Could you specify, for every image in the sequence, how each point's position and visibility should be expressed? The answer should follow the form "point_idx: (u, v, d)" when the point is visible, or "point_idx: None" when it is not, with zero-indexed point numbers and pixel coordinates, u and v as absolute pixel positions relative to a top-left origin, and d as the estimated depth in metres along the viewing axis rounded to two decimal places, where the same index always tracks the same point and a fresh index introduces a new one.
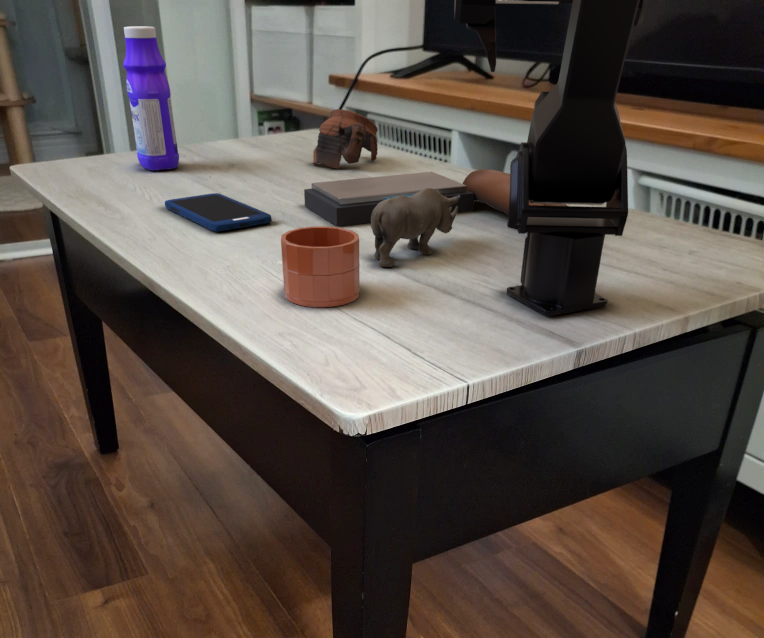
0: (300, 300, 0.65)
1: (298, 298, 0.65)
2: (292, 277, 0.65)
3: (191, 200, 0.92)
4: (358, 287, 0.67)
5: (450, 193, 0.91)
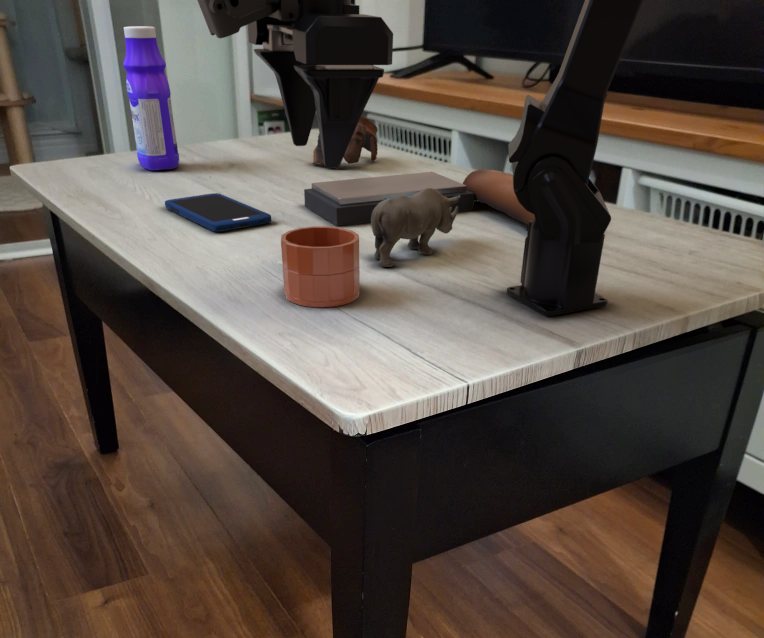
0: (300, 300, 0.65)
1: (298, 298, 0.65)
2: (292, 277, 0.65)
3: (191, 200, 0.92)
4: (358, 287, 0.67)
5: (450, 193, 0.91)
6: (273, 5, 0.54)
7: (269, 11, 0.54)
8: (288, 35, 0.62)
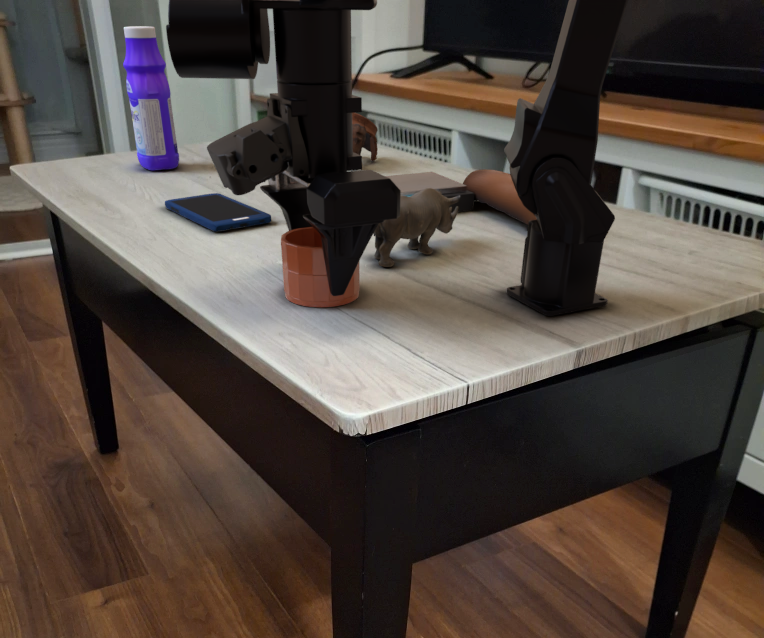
0: (300, 300, 0.65)
1: (298, 298, 0.65)
2: (292, 277, 0.65)
3: (191, 200, 0.92)
4: (358, 287, 0.67)
5: (450, 193, 0.91)
6: (285, 163, 0.58)
7: (281, 169, 0.58)
8: None
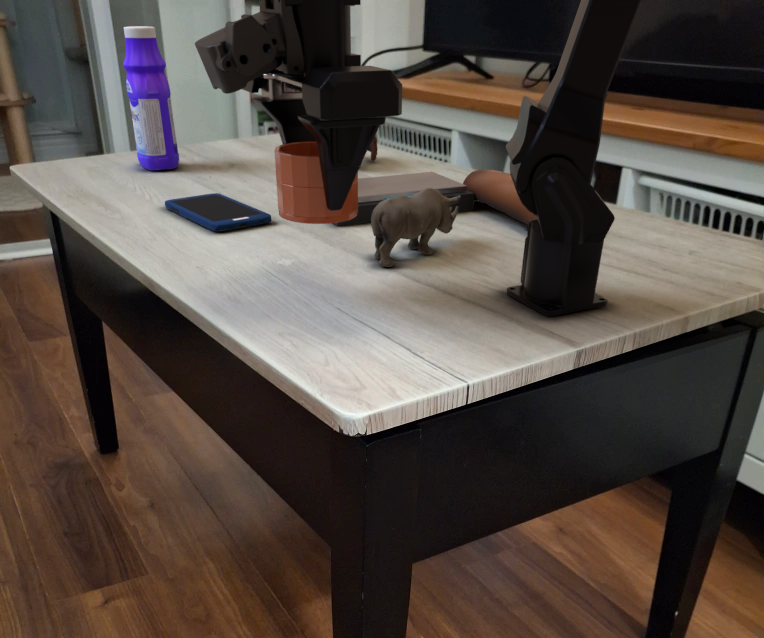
0: (295, 216, 0.61)
1: (293, 214, 0.61)
2: (286, 191, 0.61)
3: (191, 200, 0.92)
4: (357, 205, 0.63)
5: (450, 193, 0.91)
6: (278, 59, 0.55)
7: (275, 65, 0.54)
8: (289, 84, 0.62)
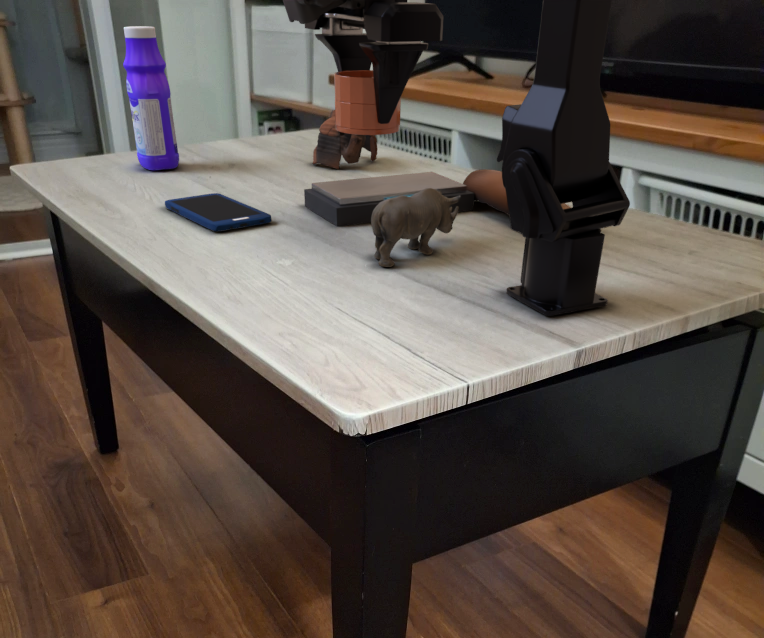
0: (350, 129, 0.76)
1: (349, 127, 0.76)
2: (344, 107, 0.75)
3: (191, 200, 0.92)
4: (399, 121, 0.78)
5: (450, 193, 0.91)
6: None
7: (341, 1, 0.69)
8: (345, 22, 0.76)
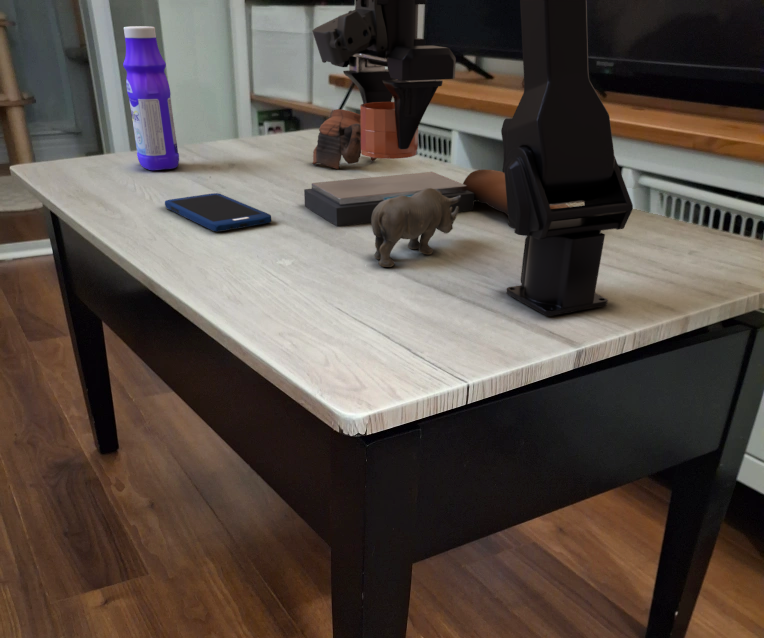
0: (374, 153, 0.87)
1: (373, 152, 0.87)
2: (369, 135, 0.86)
3: (191, 200, 0.92)
4: (417, 146, 0.88)
5: (450, 193, 0.91)
6: (370, 41, 0.80)
7: (368, 45, 0.80)
8: (370, 60, 0.87)
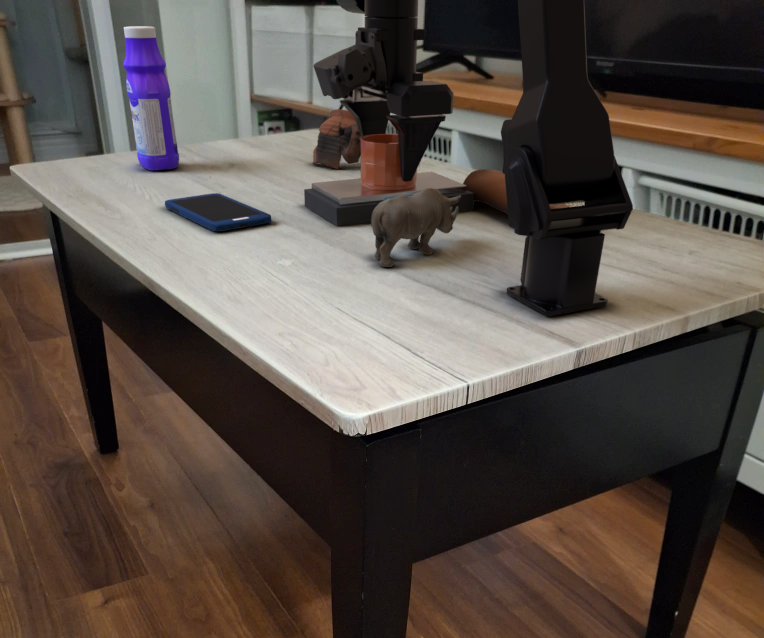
0: (374, 185, 0.89)
1: (372, 184, 0.89)
2: (369, 167, 0.88)
3: (191, 200, 0.92)
4: (416, 178, 0.90)
5: (450, 193, 0.91)
6: (370, 76, 0.82)
7: (367, 80, 0.82)
8: (366, 91, 0.90)
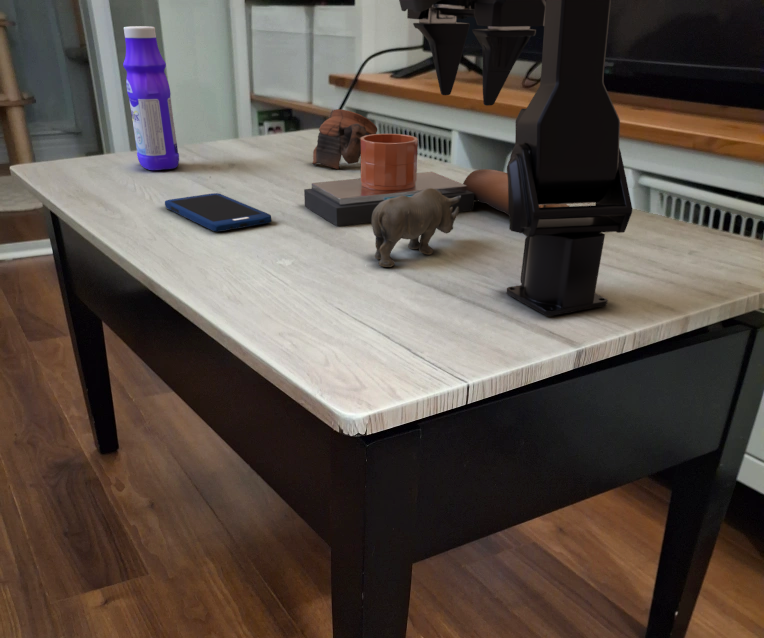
0: (374, 185, 0.89)
1: (372, 184, 0.89)
2: (369, 167, 0.88)
3: (191, 200, 0.92)
4: (416, 178, 0.90)
5: (450, 193, 0.91)
6: None
7: None
8: (442, 11, 0.84)
